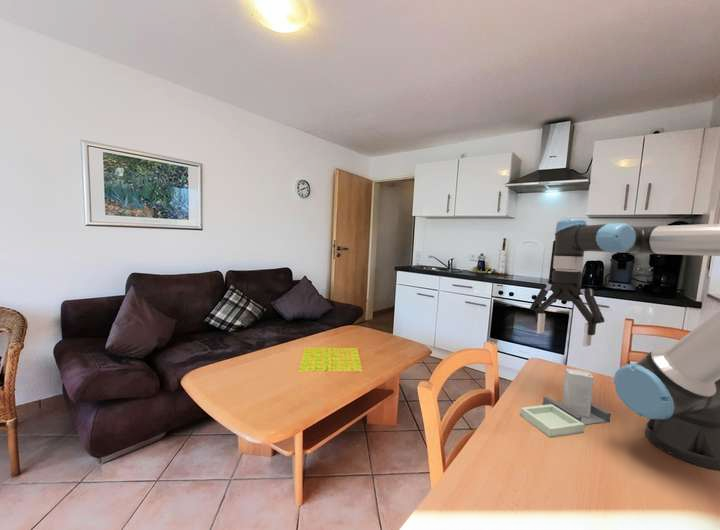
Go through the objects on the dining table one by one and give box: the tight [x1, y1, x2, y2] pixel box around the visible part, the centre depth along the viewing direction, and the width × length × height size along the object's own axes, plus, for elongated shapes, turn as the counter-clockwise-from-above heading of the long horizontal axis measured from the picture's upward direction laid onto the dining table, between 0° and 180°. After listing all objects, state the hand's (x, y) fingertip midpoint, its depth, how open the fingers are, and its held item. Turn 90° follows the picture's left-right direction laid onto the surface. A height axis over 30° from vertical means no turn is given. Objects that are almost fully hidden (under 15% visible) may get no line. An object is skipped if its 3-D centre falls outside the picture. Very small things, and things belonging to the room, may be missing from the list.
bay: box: [542, 396, 612, 426], centre depth 90 cm, size 11×12×2 cm
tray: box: [519, 404, 585, 438], centre depth 84 cm, size 10×11×2 cm
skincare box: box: [561, 368, 595, 417], centre depth 90 cm, size 6×4×12 cm
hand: (562, 339), depth 95 cm, fingers open, 13 cm apart
